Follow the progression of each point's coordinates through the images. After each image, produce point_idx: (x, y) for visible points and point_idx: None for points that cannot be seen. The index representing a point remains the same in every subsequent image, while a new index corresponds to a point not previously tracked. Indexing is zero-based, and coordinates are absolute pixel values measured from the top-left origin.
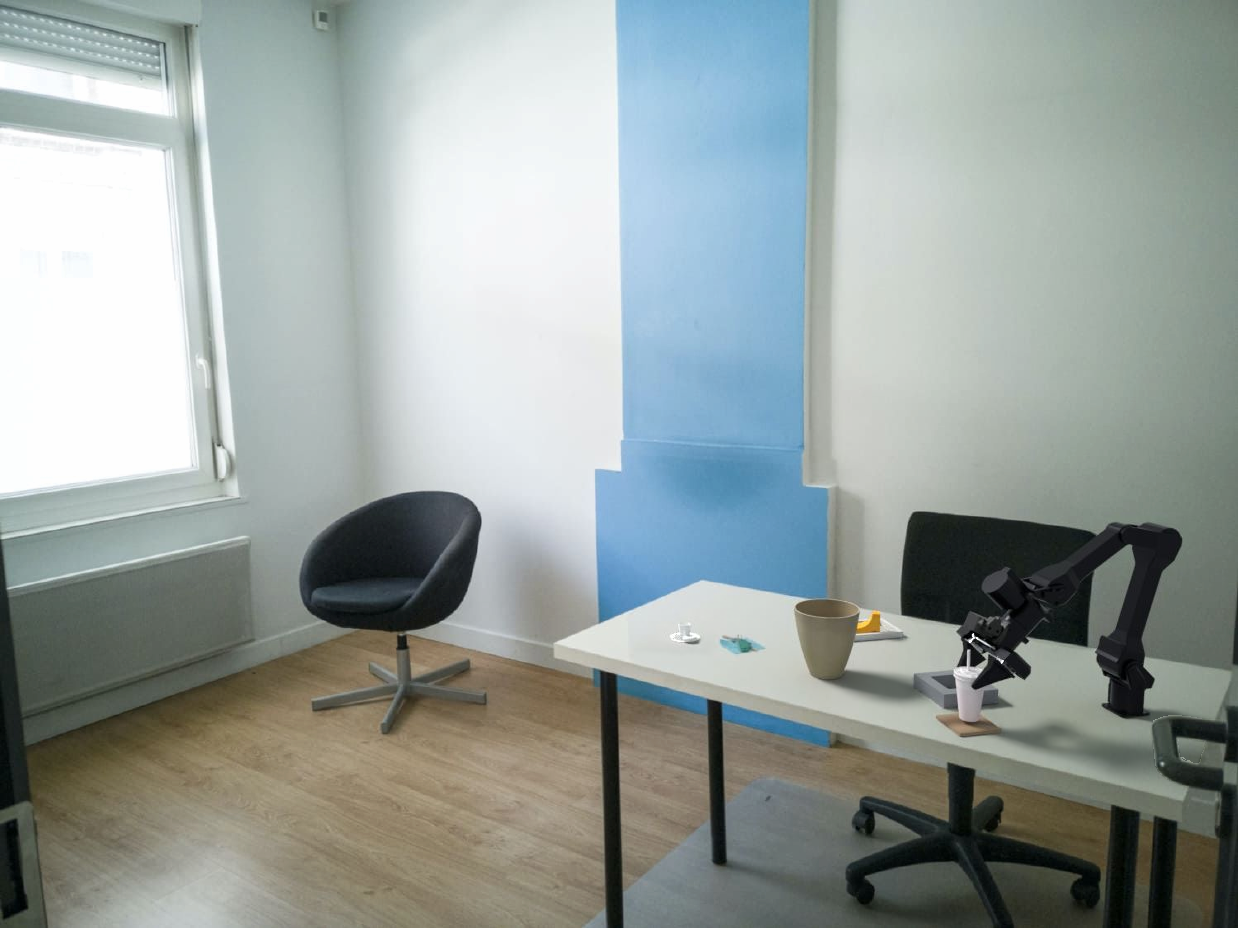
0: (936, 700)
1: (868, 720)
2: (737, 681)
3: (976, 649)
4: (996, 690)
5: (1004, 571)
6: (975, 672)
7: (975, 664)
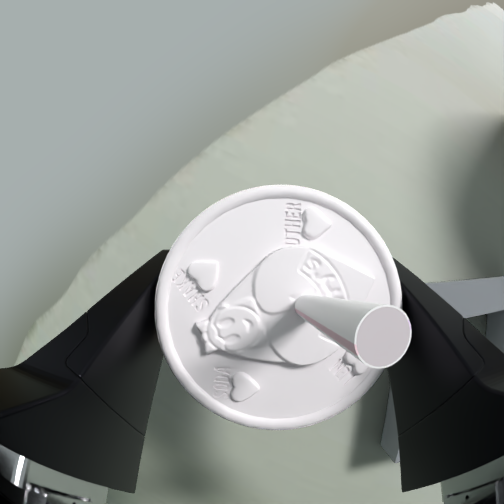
0: (431, 282)
1: (341, 72)
2: (470, 31)
3: (470, 471)
4: (395, 457)
5: None
6: (241, 335)
7: (402, 417)
